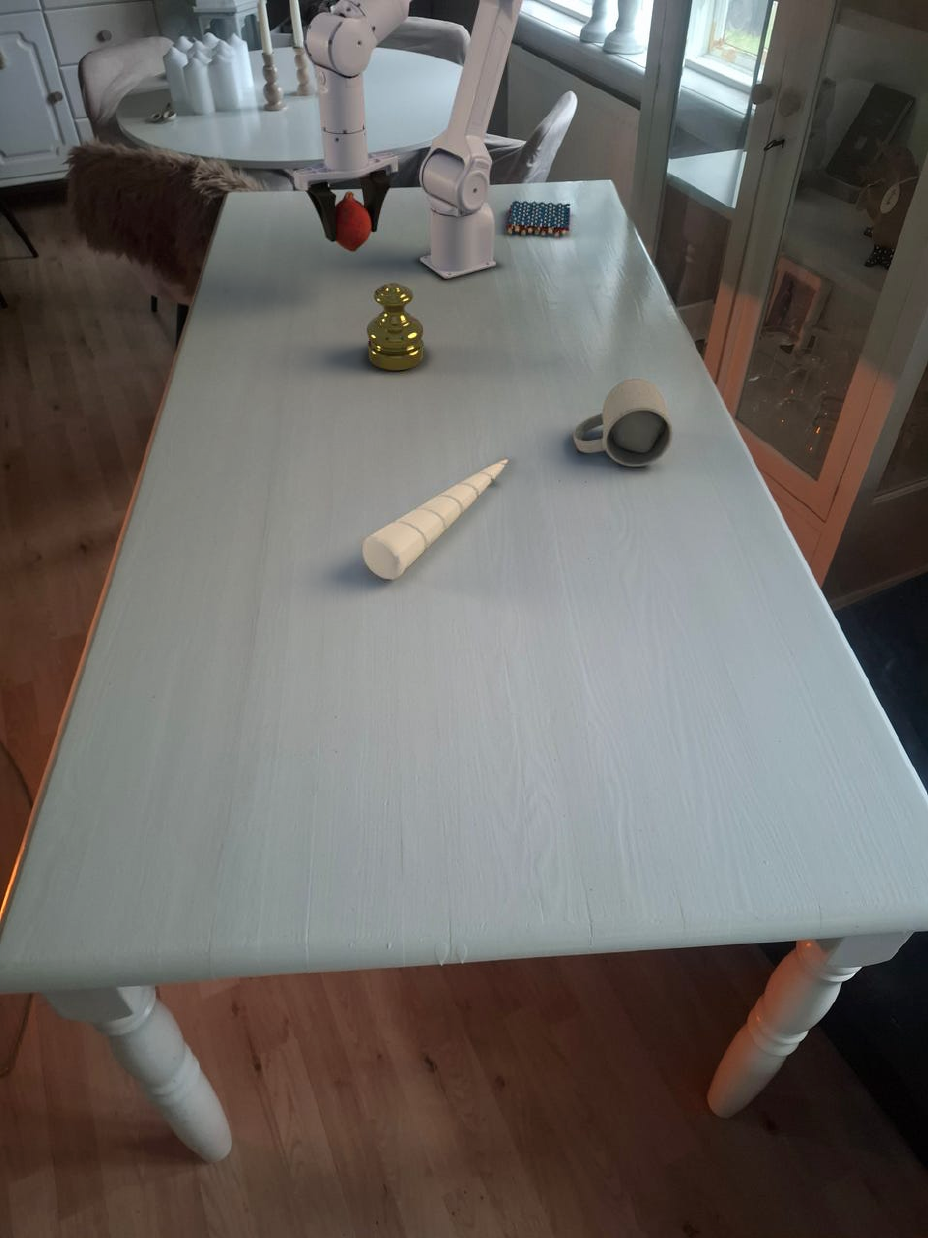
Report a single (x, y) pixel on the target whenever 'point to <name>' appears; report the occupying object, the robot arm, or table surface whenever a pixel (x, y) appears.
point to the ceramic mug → (630, 425)
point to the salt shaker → (394, 331)
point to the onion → (351, 223)
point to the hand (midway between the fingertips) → (351, 234)
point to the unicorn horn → (422, 526)
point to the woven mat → (538, 217)
